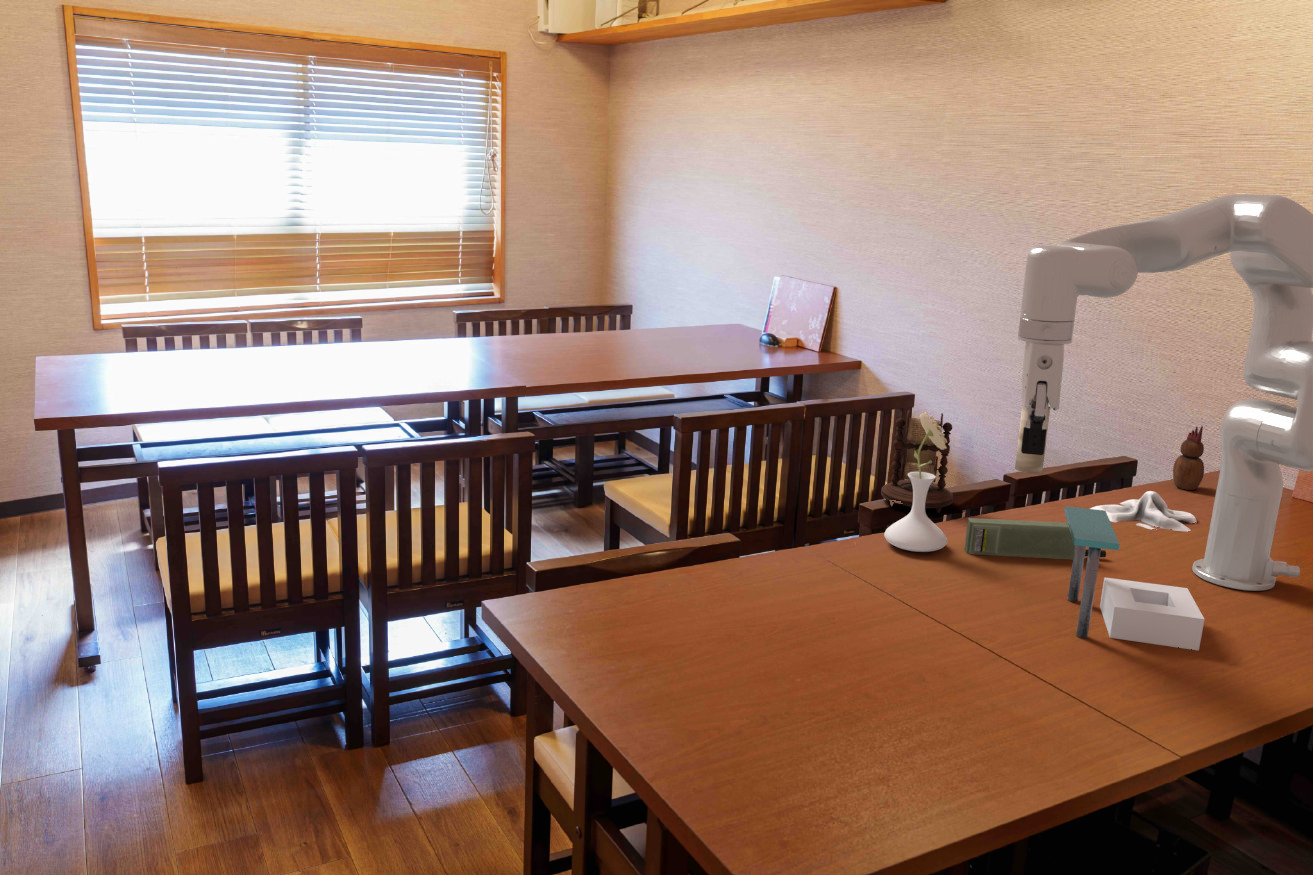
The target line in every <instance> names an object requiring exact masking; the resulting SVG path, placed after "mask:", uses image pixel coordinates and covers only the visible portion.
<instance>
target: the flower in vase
mask: <svg viewBox="0 0 1313 875" xmlns="http://www.w3.org/2000/svg"><path fill="white" fill-rule="evenodd" d="M919 419H920V420H921V424H922V427H923V428H924V429H925V432H926V436H925V438H924V439H923V441H922V443H921V445H920V447H919V450H918V455H917V453H916V452H915V454H914V457H915V458H917V460H918V467H919V472H910V473H908V477H909V478H910V480H911V482H912V486H913V505H912V507H911V510H910V512H909V513H908V514H907V515H905V516H904V517H902V518H901V519H899V520H897V521H896V522H893V523H892V524H891V525H890V526H888V527H887V528H886V529H885V532H884V533H883V536H884V538H885V540H886V541H887V542H888V543H889V545H892V546H895V547H896V548H899V549H901V550H905V551H910V552H915V553H917V552H919V553H928V552H935V551H939V550H941V549H944V547H945V546H946V545H947V544H948V538H947V536H946V534H945V533H944V532H943V530H942V529H941V528H939V527H938V525H937V524H935V523H934V522H933V521H932V519H930V518H929V517H928V515H927V513H926V508H925V501H926V496H927V492H928V489H929V486H930V484H931V483H933V482H934V479H935V478H936V479H937V475H936V476H935V475H933V474H930V473H926V472H921V468H920V467H922V466H924V465H927V464H929V463H932V461H931V460H930V461H929V462H928V463H924V464H922V465H920V459H919V454H920V450H921V448H922V446H923V444H924V442H925V440H926V438H927V437H929V438H930V439H931V441H932V442H933V443H934V444H935V445H936V446H937V447H938V448H940V449H941V450H942V449H943V450H944V448H945V449H947V447H946V445H945V443H947V440H946V439H945V438H944V435H945V434H943V427H942V428H941V426H937V423H936V421H934V420H935V418H934V416H933V415H932V414H931V415H930V416H929V415H928V413H927V412H926V411H924V413H923V412H922V413H921V414H920V415H919ZM941 431H942V432H941ZM932 481H933V482H932Z"/></svg>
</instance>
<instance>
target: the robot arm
mask: <svg viewBox="0 0 1313 875" xmlns="http://www.w3.org/2000/svg"><path fill="white" fill-rule="evenodd" d="M1227 253H1229V254H1230V262H1231V265H1232V267H1233V269H1234V271H1235V272H1236V273H1237V274H1238V275H1239V276H1240V277H1241V278H1242V280H1243V281H1244V282H1245V284H1246V285H1247V287H1248V289H1249V290H1250V293H1251V296H1252V298H1253V306H1254V307H1253V308H1254V309H1253V316H1252V323H1251V328H1250V333H1249V338H1248V344H1247V348H1246V349H1247V350H1246V353H1245V358H1244V359H1245V360H1244V362H1243V364H1244V365H1243V379H1244V381H1245V383H1246V384H1247V385H1248V386H1249V388H1252V389H1254V390H1256V391H1259V392H1262V393H1266V394H1270V395H1274V396H1278V397H1282V398H1287V399H1292V400H1296V401H1297V403H1296V407H1295V406H1291V405H1289V404H1288V405H1287V404H1284V403H1280V402H1276V401H1271V400H1266V399H1257V398H1247V399H1242V400H1240V401H1237V402H1235V403H1233V404H1232V405H1231V406H1229V407H1228V409H1227V410H1226V411H1225V413H1224V415H1223V417H1222V419H1221V424H1220V443H1221V444H1220V445H1221V456H1220V459H1221V460H1220V469H1219V474H1218V480H1217V487H1216V491H1215V497H1214V502H1213V507H1212V514H1211V519H1210V524H1209V530H1208V536H1207V541H1206V547H1205V553H1204V558H1200V559H1197V560H1195V561H1194V562H1192V563H1193V564H1192V569H1191V570H1192V572H1193V573H1194V574H1195V575H1197V577H1199V578H1201V579H1202V580H1204V581H1207V582H1209V583H1212V584H1215V585H1218V586H1221V587H1226V588H1229V589H1235V590H1240V591H1241V590H1242V591H1251V592H1252V591H1254V592H1258V591H1259V592H1260V591H1261V592H1263V591H1268V590H1271V589H1273V588H1274V587H1275V585H1276V581H1277V580H1276V577H1278V576H1285V577H1290V578H1296V579H1297V578H1299V577H1300V574H1301V568H1300V566H1299V565H1290V564H1288V563H1287V562H1286V561H1280V560H1273V558H1272V557H1271V556H1270V554H1271V551H1272V550H1271V549H1272V545H1273V539H1274V536H1275V535H1274V534H1275V530H1276V525H1277V519H1278V516H1279V515H1278V514H1279V511H1280V510H1279V509H1280V505H1281V498H1282V496H1283V490H1284V481H1283V480H1284V478H1283V472H1282V470H1281V467H1280V465H1281V466H1285V467H1288V468H1290V469H1291V468H1292V469H1295V470H1300V471H1306V472H1313V338H1312V337H1313V291H1312V289H1313V213H1312V212H1311V211H1310V210H1308V209H1307V208H1306V207H1305V206H1303V205H1301V204H1300V203H1298V202H1297V201H1295V200H1292V199H1290V198H1288V197H1286V196H1282V195H1276V194H1275V195H1269V194H1268V195H1267V194H1266V195H1265V194H1230V195H1224V196H1220V197H1217V198H1213V199H1212V200H1208V201H1205V202H1203V203H1198V204H1196V205H1193V206H1190V207H1187V208H1185V209H1181V210H1179V211H1176V212H1173V213H1170V214H1166V215H1163V216H1160V217H1156V218H1155V217H1154V218H1149V219H1144V220H1139V221H1135V222H1132V223H1126V224H1121V225H1116V226H1111V227H1110V226H1109V227H1106V228H1102V229H1097V230H1093V231H1089V232H1087V233H1082V234H1080V235H1078V236H1074V237H1071V238H1069V239H1066V240H1063V241H1061V242H1059V243H1058V244H1056V245H1038V246H1035V247H1032V248H1030V250H1029V251H1028V253H1027V256H1026V263H1025V271H1024V281H1023V291H1022V299H1021V308H1020V317H1019V325H1018V326H1019V327H1018V333H1017V334H1018V336H1017V340H1019V341H1021V342H1025V346H1024V354H1023V355H1024V356H1023V364H1022V375H1021V376H1022V377H1021V399H1022V403H1023V404H1024V406H1025V407H1026V408H1028V409H1027V410H1028V411H1027V421H1026V427H1024V430H1023V439H1022V447H1021V452H1022V453H1023V454H1033V455H1043V454H1044V448H1045V449H1046V447H1045V440H1046V441H1047V439H1046V432H1047V433H1048V431H1047V429H1046V422H1047V413H1048V406H1049V407H1050V409H1052V410H1053V411H1054V412H1056V411H1058V410H1059V409H1060V402H1061V401H1060V398H1061V390H1062V380H1063V379H1062V378H1063V372H1064V358H1065V356H1064V354H1065V345H1068V344H1072V343H1073V335H1074V326H1075V318H1076V312H1077V311H1076V310H1077V303H1078V297H1079V296H1088V297H1095V298H1102V299H1108V298H1114V297H1118V296H1121V295H1123V294H1125V293H1127V291H1129V290H1130V289H1131V288H1132V287H1133V286H1134V284H1135V282H1136V281H1137V279H1138V274H1139V273H1140V274H1141V273H1142V274H1143V273H1145V274H1147V273H1149V274H1150V273H1151V274H1152V273H1153V274H1154V273H1155V274H1156V273H1163V272H1164V273H1167V272H1168V273H1169V272H1175V271H1180V270H1183V269H1187V268H1189V267H1192V266H1195V265H1197V264H1199V263H1202V262H1205V261H1207V260H1212V259H1213V258H1216V257H1219V256H1222V255H1224V254H1227ZM1023 404H1022V405H1023ZM1031 404H1035V408H1033V407H1031ZM1032 412H1034V413H1032ZM1031 413H1032V415H1031Z"/></svg>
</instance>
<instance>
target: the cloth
mask: <svg viewBox="0 0 1313 875" xmlns="http://www.w3.org/2000/svg"><path fill="white" fill-rule="evenodd" d="M1119 504H1120V505H1119ZM1119 504H1103V505H1102V504H1101V505H1095V506H1093V507H1090V508H1089V509H1095V510H1104V511H1106V513H1107V516H1108V518H1109V520H1110V523H1111V522H1112V523H1119V522H1122V521H1123V522H1124V521H1125V522H1126V521H1130V522H1131V521H1140V522H1138V523H1136V524H1135V526H1137V527H1142V528H1144V529H1148V530H1152V529H1156V530H1155V531H1158V529H1157V527H1160V528H1159V529H1163V530H1170V529H1172V530H1171V531H1174V532H1175V531H1177V532H1178V531H1179V532H1188V531H1191V529H1190V528H1189V527H1187V526H1186V525H1185V524H1183V523H1185V522H1190V523H1189V524H1192V523H1195V522H1196V523H1197V519H1196V518H1197V517H1195V515H1193V514H1192V513H1190V512H1187V511H1182V510H1173V509H1169V508H1168V504H1167V503H1166V502H1165V500H1164V498H1162V497H1161V496H1160V494H1159V493H1158V492H1156V491H1151V490H1149V491H1146V492H1144V493H1143V494H1142V496H1141V497H1140V498H1139V499H1135V498H1133V499H1128V500H1127V499H1126V500H1125V501H1122V502H1119ZM1141 522H1142V523H1141ZM1196 523H1195V524H1196ZM1154 526H1155V527H1154ZM1191 532H1192V531H1191Z"/></svg>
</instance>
